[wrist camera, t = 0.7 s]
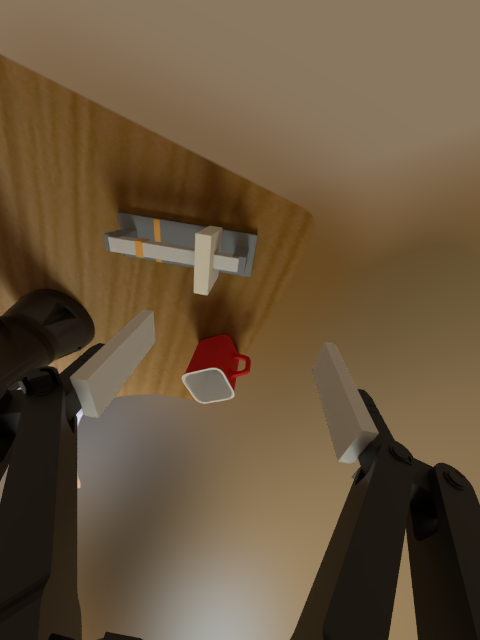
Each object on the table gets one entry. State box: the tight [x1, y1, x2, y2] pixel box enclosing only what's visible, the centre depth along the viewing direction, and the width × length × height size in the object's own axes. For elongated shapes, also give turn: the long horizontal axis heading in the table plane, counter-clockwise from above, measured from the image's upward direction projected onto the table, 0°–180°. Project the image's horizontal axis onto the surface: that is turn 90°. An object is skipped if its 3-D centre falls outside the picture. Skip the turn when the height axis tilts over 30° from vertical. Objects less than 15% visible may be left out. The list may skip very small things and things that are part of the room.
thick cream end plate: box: [194, 226, 223, 295], centre depth 31 cm, size 2×8×8 cm, turn 172°
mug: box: [182, 334, 251, 404], centre depth 42 cm, size 12×8×11 cm
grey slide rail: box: [103, 212, 257, 277], centre depth 33 cm, size 23×7×7 cm, turn 82°
